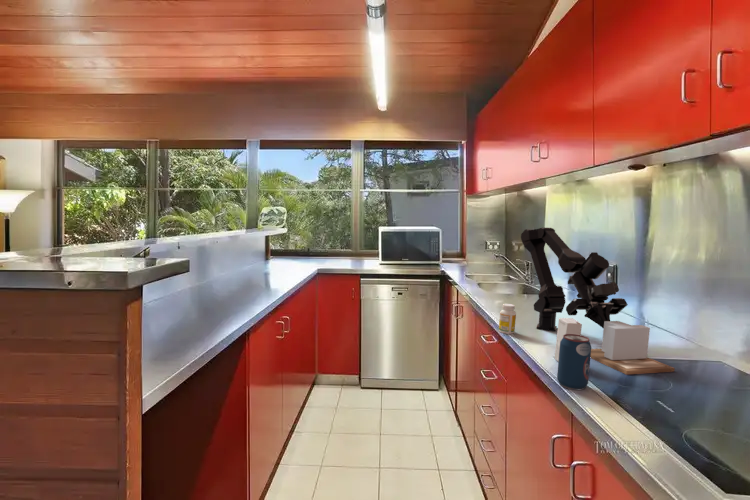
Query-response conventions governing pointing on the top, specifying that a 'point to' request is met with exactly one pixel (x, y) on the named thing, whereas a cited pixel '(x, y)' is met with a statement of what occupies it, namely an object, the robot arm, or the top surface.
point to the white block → (625, 341)
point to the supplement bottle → (507, 319)
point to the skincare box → (566, 331)
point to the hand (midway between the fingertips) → (609, 330)
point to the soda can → (574, 361)
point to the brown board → (631, 364)
